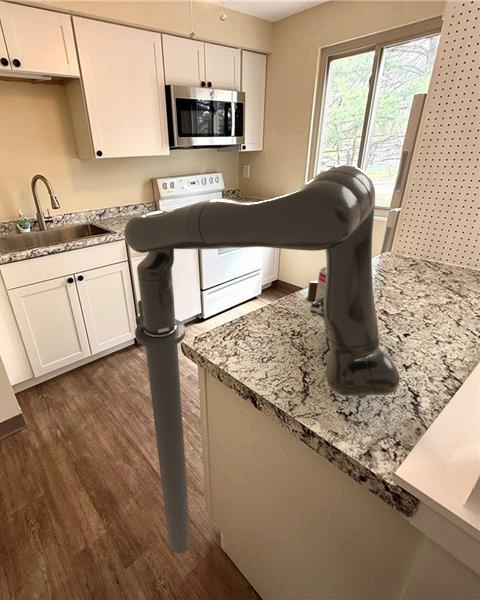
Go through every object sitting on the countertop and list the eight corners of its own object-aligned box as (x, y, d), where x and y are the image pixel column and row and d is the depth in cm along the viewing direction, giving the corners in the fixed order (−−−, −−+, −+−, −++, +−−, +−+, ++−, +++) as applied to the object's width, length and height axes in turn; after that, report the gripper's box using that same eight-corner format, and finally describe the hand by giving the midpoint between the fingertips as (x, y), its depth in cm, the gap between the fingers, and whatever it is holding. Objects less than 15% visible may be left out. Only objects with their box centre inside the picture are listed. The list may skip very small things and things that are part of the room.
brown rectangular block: (307, 300, 95) (310, 282, 93) (307, 297, 97) (309, 280, 94) (345, 303, 91) (349, 284, 89) (344, 300, 93) (347, 281, 91)
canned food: (352, 313, 86) (361, 272, 81) (330, 319, 84) (337, 278, 79) (328, 302, 93) (335, 264, 88) (307, 308, 91) (313, 269, 86)
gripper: (385, 315, 64) (367, 283, 78) (313, 310, 69) (308, 280, 83) (377, 345, 67) (361, 309, 82) (309, 338, 72) (305, 305, 87)
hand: (334, 294), depth 82 cm, fingers closed
